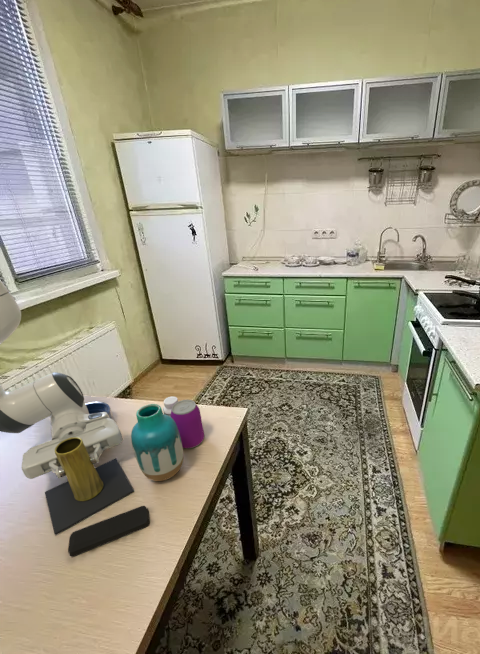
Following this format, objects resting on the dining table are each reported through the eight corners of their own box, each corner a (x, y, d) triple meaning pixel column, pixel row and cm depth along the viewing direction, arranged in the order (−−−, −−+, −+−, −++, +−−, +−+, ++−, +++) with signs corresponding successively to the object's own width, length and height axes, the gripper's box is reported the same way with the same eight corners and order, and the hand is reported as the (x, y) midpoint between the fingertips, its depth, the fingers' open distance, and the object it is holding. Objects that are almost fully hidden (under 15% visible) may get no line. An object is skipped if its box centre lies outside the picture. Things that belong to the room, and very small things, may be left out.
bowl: (69, 448, 90) (64, 436, 88) (61, 426, 99) (55, 414, 97) (119, 427, 98) (115, 415, 96) (107, 408, 107) (103, 396, 105)
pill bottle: (172, 417, 101) (166, 394, 97) (187, 418, 100) (182, 395, 96) (163, 429, 96) (157, 404, 92) (180, 430, 96) (174, 405, 92)
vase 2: (136, 470, 82) (116, 409, 74) (176, 450, 88) (162, 391, 80) (152, 496, 75) (132, 432, 66) (194, 472, 81) (180, 411, 73)
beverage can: (194, 453, 87) (186, 418, 82) (171, 446, 90) (162, 411, 84) (210, 435, 94) (204, 401, 88) (188, 429, 96) (181, 395, 91)
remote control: (148, 509, 73) (70, 537, 67) (147, 503, 72) (68, 531, 66) (150, 527, 69) (68, 558, 63) (149, 521, 68) (65, 553, 62)
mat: (55, 535, 67) (54, 533, 67) (45, 493, 77) (44, 492, 76) (134, 491, 77) (133, 490, 76) (116, 459, 86) (116, 457, 86)
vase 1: (72, 505, 73) (49, 459, 66) (76, 485, 78) (54, 440, 71) (102, 495, 75) (82, 450, 68) (104, 476, 80) (86, 432, 73)
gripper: (17, 442, 76) (15, 480, 65) (112, 409, 86) (123, 438, 76) (28, 461, 78) (27, 501, 68) (119, 427, 89) (130, 457, 79)
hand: (78, 467), depth 72 cm, fingers closed on vase 1, 5 cm apart
